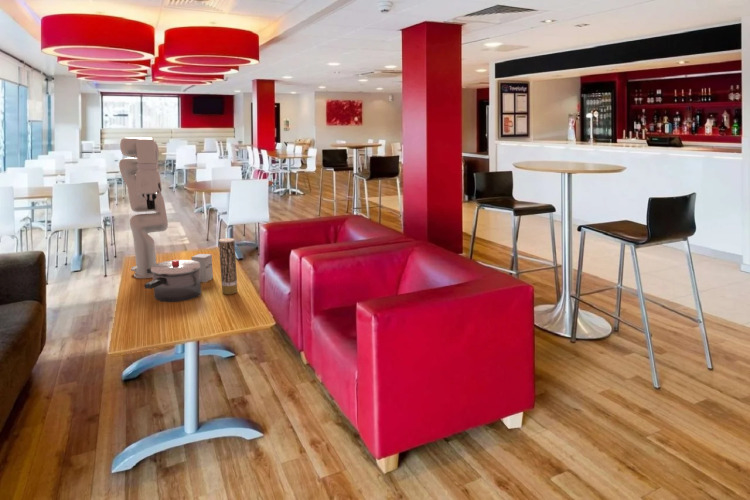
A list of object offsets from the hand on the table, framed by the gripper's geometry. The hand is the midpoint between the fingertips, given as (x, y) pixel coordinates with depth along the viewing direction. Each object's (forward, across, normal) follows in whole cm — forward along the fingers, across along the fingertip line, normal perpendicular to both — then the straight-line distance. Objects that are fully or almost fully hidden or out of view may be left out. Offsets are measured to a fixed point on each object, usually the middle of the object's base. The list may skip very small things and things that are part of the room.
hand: (151, 208), depth 243 cm
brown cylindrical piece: (+39, +31, +9) cm, 51 cm away
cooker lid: (+27, +10, 0) cm, 29 cm away
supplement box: (+39, +8, +24) cm, 47 cm away
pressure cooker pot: (+39, +8, -5) cm, 40 cm away
